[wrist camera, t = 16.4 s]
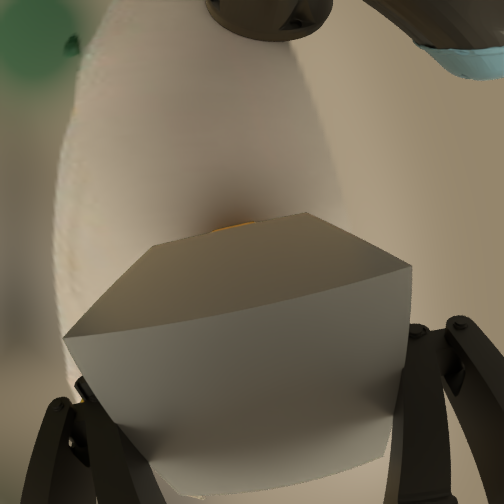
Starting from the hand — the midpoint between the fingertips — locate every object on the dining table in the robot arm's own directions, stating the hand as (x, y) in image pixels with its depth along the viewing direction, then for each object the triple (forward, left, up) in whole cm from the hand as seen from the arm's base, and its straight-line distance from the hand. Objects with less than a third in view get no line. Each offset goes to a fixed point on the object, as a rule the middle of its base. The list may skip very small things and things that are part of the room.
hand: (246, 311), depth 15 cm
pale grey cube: (0, 0, -1) cm, 1 cm away
